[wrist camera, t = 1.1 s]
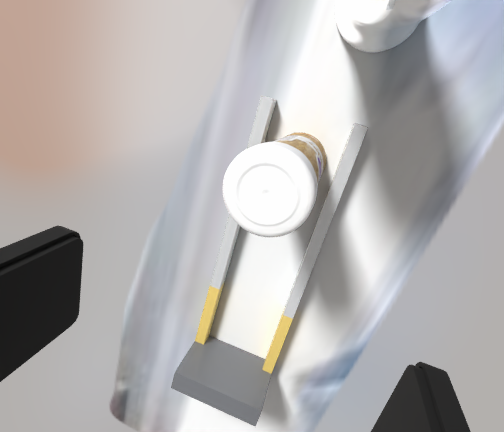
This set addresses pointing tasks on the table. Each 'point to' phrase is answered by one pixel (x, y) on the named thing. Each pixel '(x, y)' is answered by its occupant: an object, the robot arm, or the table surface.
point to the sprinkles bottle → (274, 184)
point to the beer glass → (381, 21)
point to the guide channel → (258, 369)
